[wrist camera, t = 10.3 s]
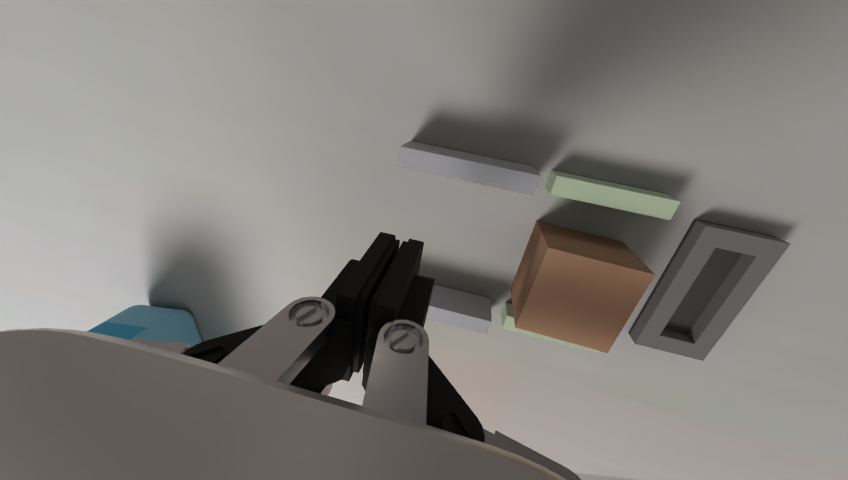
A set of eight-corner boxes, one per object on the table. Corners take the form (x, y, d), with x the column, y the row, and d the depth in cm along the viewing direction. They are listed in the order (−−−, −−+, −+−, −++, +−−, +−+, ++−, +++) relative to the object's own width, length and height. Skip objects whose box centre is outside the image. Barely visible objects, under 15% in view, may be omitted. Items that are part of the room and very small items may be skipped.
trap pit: (694, 219, 17) (705, 225, 16) (774, 236, 17) (790, 243, 16) (628, 332, 20) (635, 343, 19) (693, 348, 20) (703, 360, 19)
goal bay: (551, 170, 17) (556, 175, 16) (665, 193, 17) (680, 201, 15) (501, 313, 22) (502, 327, 20) (590, 336, 21) (598, 352, 20)
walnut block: (536, 219, 19) (548, 247, 15) (621, 240, 18) (654, 274, 15) (510, 288, 21) (515, 327, 17) (586, 309, 20) (607, 353, 17)
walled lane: (410, 140, 18) (400, 146, 16) (533, 166, 17) (540, 175, 15) (389, 285, 22) (378, 306, 20) (487, 310, 22) (487, 334, 19)
